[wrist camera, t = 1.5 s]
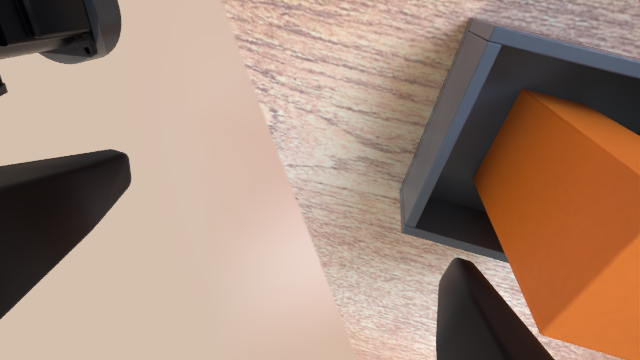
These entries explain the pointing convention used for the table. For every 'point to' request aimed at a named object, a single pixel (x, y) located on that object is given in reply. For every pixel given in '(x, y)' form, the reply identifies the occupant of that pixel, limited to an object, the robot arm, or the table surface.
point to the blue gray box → (500, 122)
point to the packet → (569, 219)
